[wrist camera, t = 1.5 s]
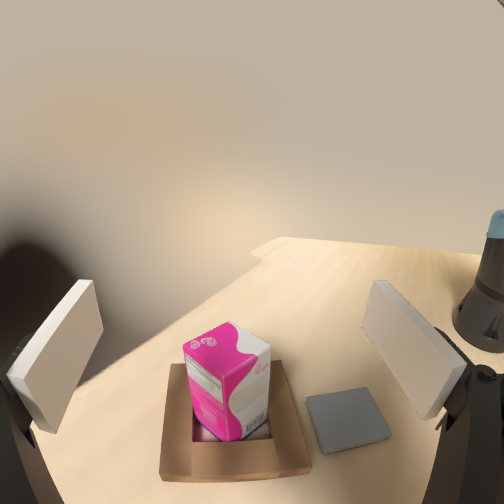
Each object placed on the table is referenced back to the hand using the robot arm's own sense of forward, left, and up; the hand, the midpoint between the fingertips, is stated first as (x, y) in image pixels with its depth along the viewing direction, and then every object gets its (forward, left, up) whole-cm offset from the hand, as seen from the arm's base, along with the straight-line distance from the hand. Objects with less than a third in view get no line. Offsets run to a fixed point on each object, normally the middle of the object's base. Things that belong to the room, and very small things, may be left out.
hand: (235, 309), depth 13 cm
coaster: (-13, -7, -21) cm, 25 cm away
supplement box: (0, -9, -21) cm, 23 cm away
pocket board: (0, -9, -21) cm, 23 cm away
